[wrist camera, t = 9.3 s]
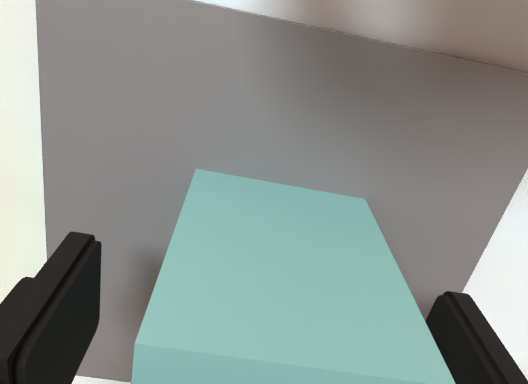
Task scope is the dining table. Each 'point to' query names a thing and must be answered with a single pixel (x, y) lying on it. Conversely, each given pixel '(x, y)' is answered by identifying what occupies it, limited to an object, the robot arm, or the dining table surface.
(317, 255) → the teal rectangular block
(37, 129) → the dining table surface
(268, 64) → the grey plate with knob
